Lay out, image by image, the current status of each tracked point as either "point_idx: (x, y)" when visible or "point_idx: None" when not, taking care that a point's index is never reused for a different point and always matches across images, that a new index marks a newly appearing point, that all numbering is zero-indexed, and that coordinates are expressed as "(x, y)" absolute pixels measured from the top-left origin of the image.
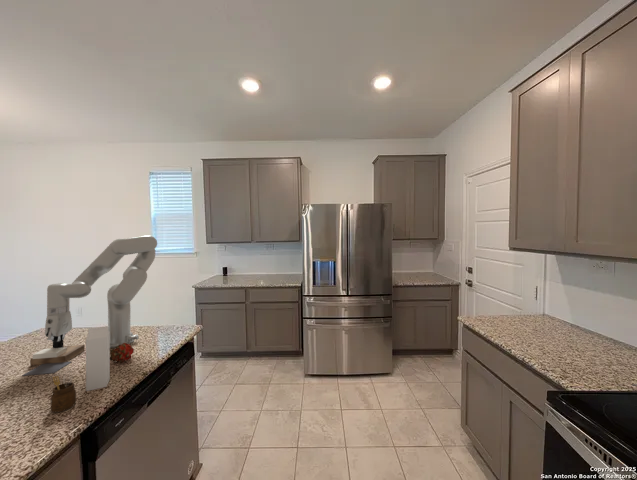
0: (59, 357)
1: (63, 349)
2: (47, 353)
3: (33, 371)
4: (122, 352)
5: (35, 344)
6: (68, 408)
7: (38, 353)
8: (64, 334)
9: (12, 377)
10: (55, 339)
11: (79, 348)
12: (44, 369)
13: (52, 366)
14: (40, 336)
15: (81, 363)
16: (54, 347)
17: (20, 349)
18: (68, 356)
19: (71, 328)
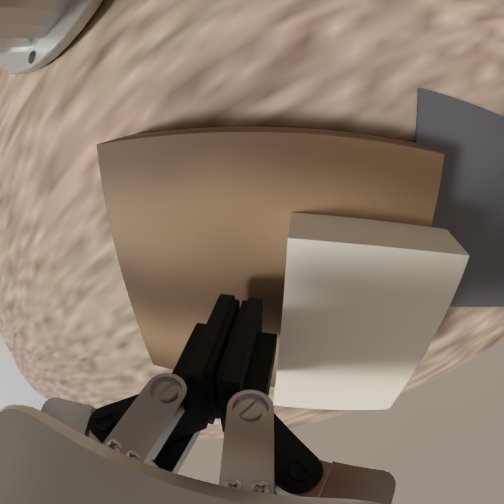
0: (429, 208)
1: (356, 241)
2: (434, 334)
3: (491, 282)
4: None
5: (104, 402)
6: None
7: (385, 392)
8: (123, 426)
9: (491, 334)
10: (305, 451)
11: (180, 132)
12: (498, 232)
13: (472, 204)
14: (63, 397)
15: (452, 6)
16: (274, 360)
17: None
18: (384, 139)
19: (3, 418)
